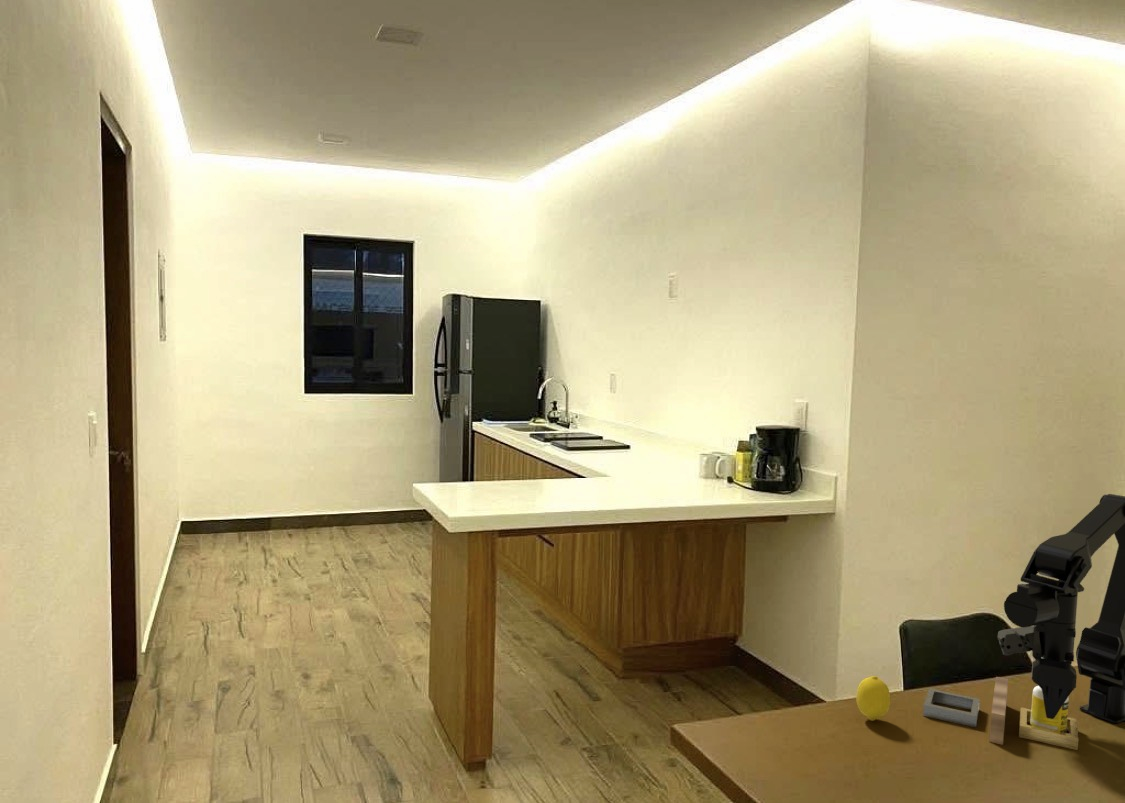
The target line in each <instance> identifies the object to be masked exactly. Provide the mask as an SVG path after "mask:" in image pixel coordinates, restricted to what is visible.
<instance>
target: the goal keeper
mask: <svg viewBox="0 0 1125 803" xmlns="http://www.w3.org/2000/svg"><path fill="white" fill-rule="evenodd" d="M1030 719H1031V709H1029V708H1026V707H1020V711H1019V726H1018V727H1019V729H1018V731H1019V732H1018V737H1019V738H1022V739H1026V740H1031V741H1035V742H1041V743H1044V744H1047V745H1048V744H1049V745H1052V746H1057V747H1062V748H1066V749H1071V750H1075V751H1078V748H1079V730H1078V721H1077V718H1075V717H1074V718H1073V717H1067V729H1066V733H1062V732H1058V731H1053V730H1048V729H1044V728H1039V727H1034V726H1030V724H1028V723H1030ZM1067 731H1068V733H1067Z"/></svg>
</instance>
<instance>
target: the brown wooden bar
mask: <svg viewBox="0 0 1125 803" xmlns="http://www.w3.org/2000/svg"><path fill="white" fill-rule="evenodd" d="M1008 687H1009V679H1008V678H1005V677H1000V676H995V682H994V690H993V697H992V706H991V715H990V728H989V743H993V744H998V745H1001V746H1003V745H1004V736H1005V728H1006V726H1005V725H1006V713H1007V704H1008V703H1007V701H1008Z"/></svg>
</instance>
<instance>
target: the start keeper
mask: <svg viewBox="0 0 1125 803" xmlns="http://www.w3.org/2000/svg"><path fill="white" fill-rule="evenodd" d="M980 700H981V699H980V698H978V697H974V696H973V697H972V696H968V695H963V694H958V693H952V692H947V691H945V690H944V691H943V690H939V689H934V688H928V690H927V693H926V697H925V700H924V702H923V709H922V710H923V711H922V712H923V713H922V714H923V715H922V716H923V717H927V718H932V719H937V720H940V721H945V722H950V723H953V724H960V725H963V726H967V727H972V728H977V725H978V717H979V712H980ZM934 703H936V704H934ZM937 704H941V705H945V706H941V705H937ZM946 705H947V706H951V707H955V708H960V709H965V710H970V712H969V711H964V710H960V709H955V708H950V707H946Z"/></svg>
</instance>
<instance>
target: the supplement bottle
mask: <svg viewBox="0 0 1125 803" xmlns="http://www.w3.org/2000/svg"><path fill="white" fill-rule="evenodd" d="M1069 700H1070V695H1069V696H1068V698H1067V699H1066V701H1065V702H1064V704H1063V705H1062V707H1061V708H1060V710H1059V711H1058V713H1057V715H1056V716H1055V718H1054V719H1050V718H1047V717H1046V712H1045V706H1044V699H1043V693H1042V689H1041V688H1040V687H1039V686H1038V685H1037V686H1034V688H1033V689H1032V698H1031V719H1030V722H1029V725H1030V726H1034V727H1039V728H1044V729H1048V730H1053V731H1058V732H1062V733H1067V730H1066V729H1067V717H1068V716H1069V715H1068V714H1069V702H1070V701H1069Z"/></svg>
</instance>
